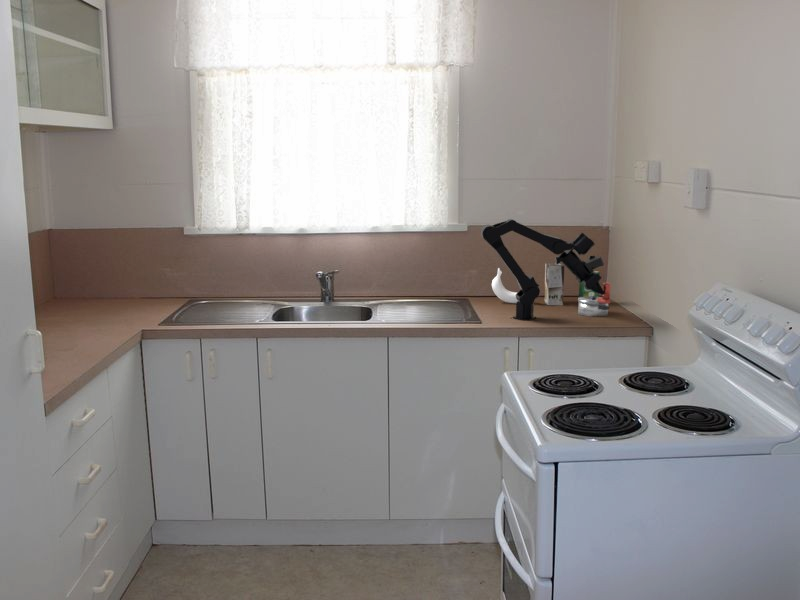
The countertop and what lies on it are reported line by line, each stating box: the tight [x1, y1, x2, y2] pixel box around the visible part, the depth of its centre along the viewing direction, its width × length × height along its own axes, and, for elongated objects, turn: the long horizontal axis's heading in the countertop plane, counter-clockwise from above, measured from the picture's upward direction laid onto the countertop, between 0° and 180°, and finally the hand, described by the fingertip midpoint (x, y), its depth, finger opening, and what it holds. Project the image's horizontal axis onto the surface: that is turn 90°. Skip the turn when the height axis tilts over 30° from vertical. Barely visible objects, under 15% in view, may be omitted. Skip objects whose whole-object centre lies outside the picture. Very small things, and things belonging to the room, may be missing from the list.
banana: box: [491, 267, 518, 304], centre depth 330 cm, size 5×19×15 cm, turn 83°
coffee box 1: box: [544, 262, 566, 306], centre depth 330 cm, size 9×6×16 cm
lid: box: [577, 282, 611, 305], centre depth 307 cm, size 15×12×8 cm
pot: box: [577, 302, 610, 318], centre depth 310 cm, size 16×11×4 cm
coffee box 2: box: [578, 270, 601, 298], centre depth 330 cm, size 8×3×13 cm, turn 109°
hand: (603, 293), depth 300 cm, fingers closed
